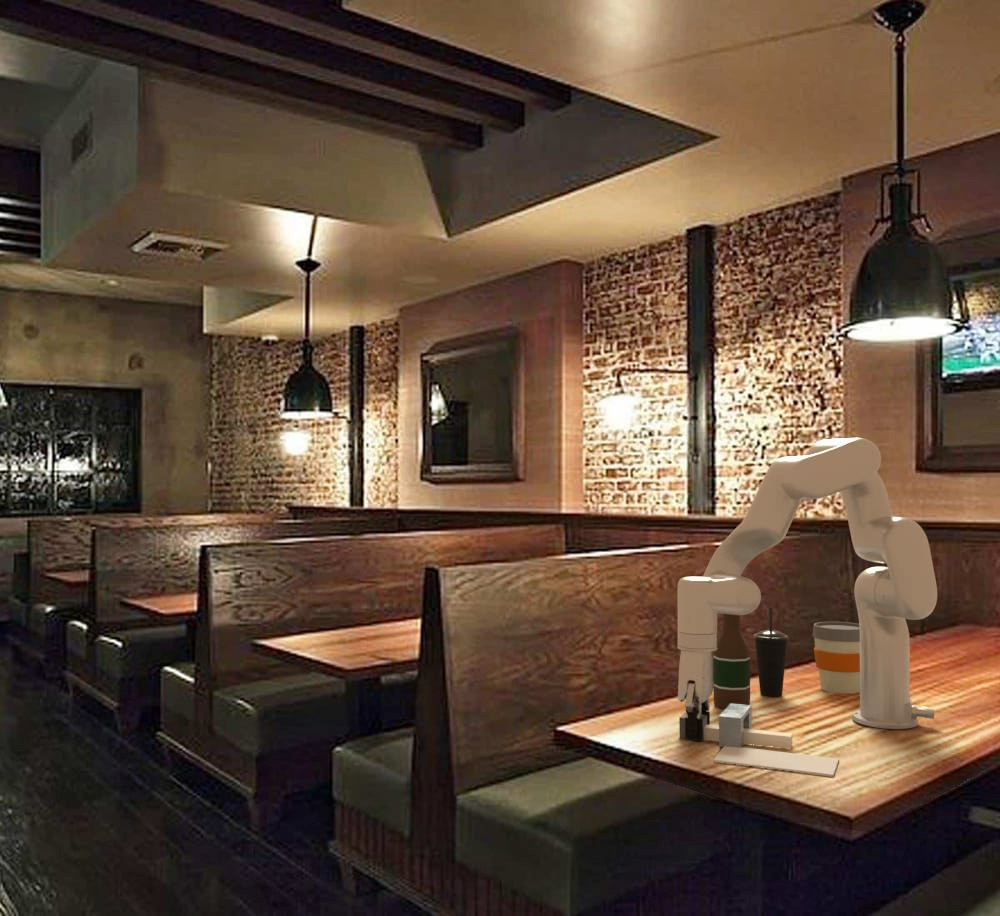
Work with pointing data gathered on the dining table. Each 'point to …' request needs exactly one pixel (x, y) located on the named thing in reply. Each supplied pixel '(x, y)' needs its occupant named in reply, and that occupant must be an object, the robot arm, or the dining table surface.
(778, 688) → the drinking cup
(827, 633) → the reusable coffee cup
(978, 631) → the dining table surface
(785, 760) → the mat
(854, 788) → the dining table surface
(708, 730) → the cream rectangular bar
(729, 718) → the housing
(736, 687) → the beer bottle
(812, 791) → the dining table surface
